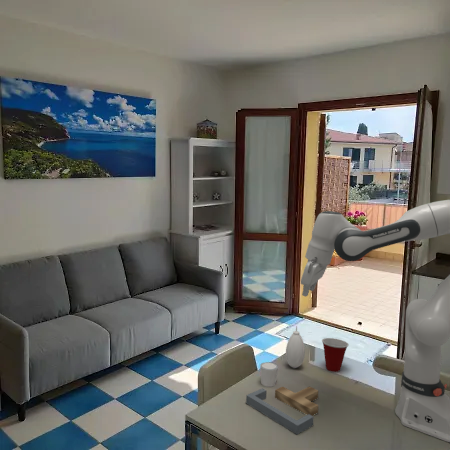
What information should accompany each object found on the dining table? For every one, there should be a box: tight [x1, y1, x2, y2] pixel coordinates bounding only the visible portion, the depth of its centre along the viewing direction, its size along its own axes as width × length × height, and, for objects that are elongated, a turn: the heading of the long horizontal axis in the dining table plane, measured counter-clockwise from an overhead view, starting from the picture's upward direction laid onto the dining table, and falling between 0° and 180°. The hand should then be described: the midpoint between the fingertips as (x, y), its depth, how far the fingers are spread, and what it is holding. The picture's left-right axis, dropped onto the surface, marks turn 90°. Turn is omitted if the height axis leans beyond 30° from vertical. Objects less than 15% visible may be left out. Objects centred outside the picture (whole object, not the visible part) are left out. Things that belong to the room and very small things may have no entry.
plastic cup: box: [321, 337, 349, 373], centre depth 179 cm, size 11×11×12 cm
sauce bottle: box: [285, 325, 306, 369], centre depth 179 cm, size 8×8×18 cm
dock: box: [245, 388, 315, 435], centre depth 145 cm, size 23×8×3 cm, turn 41°
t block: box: [274, 386, 319, 417], centre depth 153 cm, size 16×12×3 cm
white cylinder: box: [259, 361, 279, 387], centre depth 165 cm, size 7×7×7 cm
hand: (308, 292), depth 152 cm, fingers open, 8 cm apart
